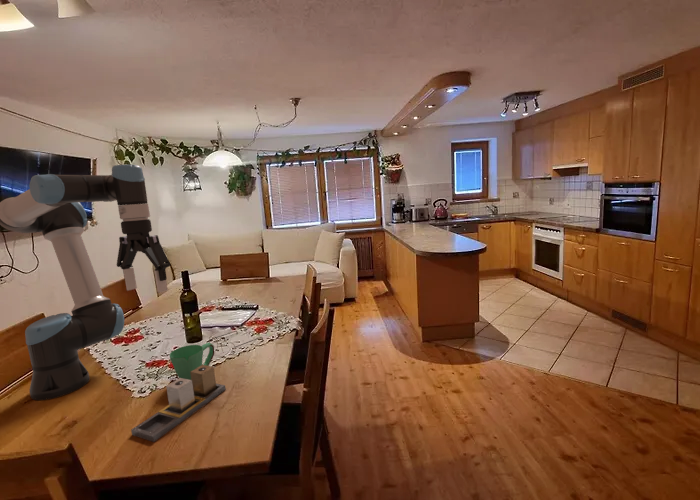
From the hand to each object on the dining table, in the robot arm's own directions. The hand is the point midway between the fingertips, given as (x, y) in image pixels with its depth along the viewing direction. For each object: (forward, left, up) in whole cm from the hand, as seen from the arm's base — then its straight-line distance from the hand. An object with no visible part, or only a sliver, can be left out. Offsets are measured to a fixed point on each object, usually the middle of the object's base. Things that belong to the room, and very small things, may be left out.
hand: (146, 290), depth 106 cm
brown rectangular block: (+17, +1, -31) cm, 36 cm away
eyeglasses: (-1, +34, -32) cm, 47 cm away
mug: (+5, +9, -32) cm, 34 cm away
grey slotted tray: (+17, -7, -32) cm, 37 cm away
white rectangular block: (+17, -7, -31) cm, 36 cm away
